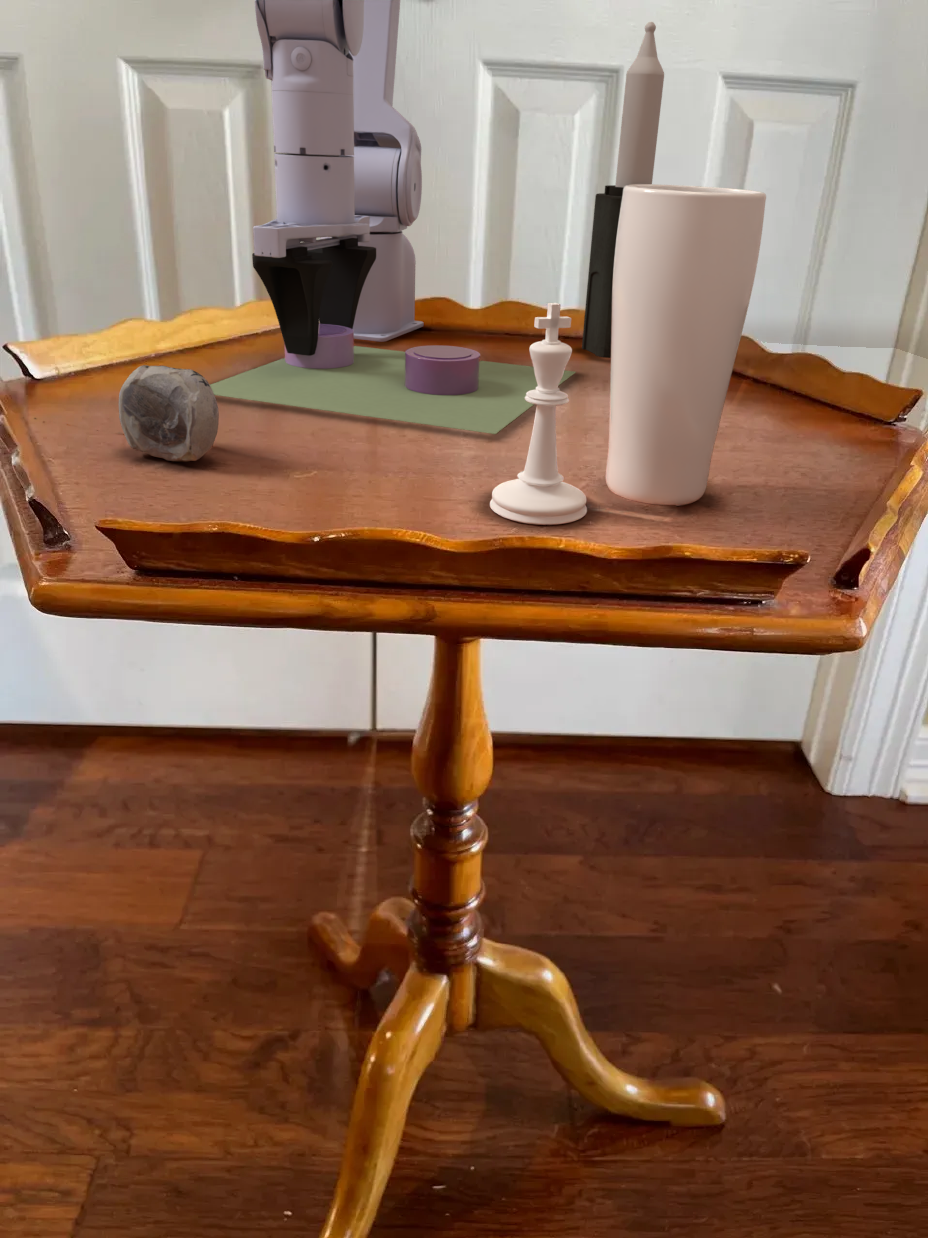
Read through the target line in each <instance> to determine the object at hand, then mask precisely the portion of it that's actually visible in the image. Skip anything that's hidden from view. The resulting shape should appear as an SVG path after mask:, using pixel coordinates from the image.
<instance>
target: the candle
mask: <svg viewBox="0 0 928 1238" xmlns="http://www.w3.org/2000/svg"><path fill="white" fill-rule="evenodd" d="M656 28H657V25H656V24H655V22H654V21H648V22H647V23H646V24H644V31H645V32H644V36H643V38H642V41H641V44H640V46H639V49H638V53H637V55H636V58H635V59H634V60H633V62H632V63H631V65H630V66H629V68H628V70H627V71H626V75H625V85H624V95H623V103H622V104H623V105H622V114H621V126H620V136H619V145H618V153H617V154H618V155H617V156H618V157H617V165H616V174H615V175H616V177H615V185H613V184H612V185H611V184H609V185H604V191H603V193H596V194H595V199H594V210H593V221H592V232H591V240H590V241H591V242H590V253H589V265H588V277H587V286H586V297H585V308H584V317H583V319H584V320H583V330H582V341H581V342H582V343H581V349H582V350H585V351H588V352H590V353H592V354H594V355H595V356H596V357H599V358H604V359H605V358H606V359H611V326H612V287H613V269H614V257H615V246H616V237H617V229H618V222H619V215H620V208H621V202H622V196H623V189H624V187H625V186H626V185H632V184H653V179H654V170H655V162H656V161H655V160H656V153H657V142H658V135H659V134H658V133H659V124H660V118H661V117H660V116H661V107H662V99H663V89H664V81H665V71H664V68H663V67H662V64H661V62H660V61H659V58H658V57H659V56H658V51H657V45H656V37H655V31H656Z"/></svg>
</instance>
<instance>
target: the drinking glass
mask: <svg viewBox="0 0 928 1238" xmlns="http://www.w3.org/2000/svg"><path fill="white" fill-rule="evenodd" d="M766 201H767V194H766V193H765V192H763V191H759V190H750V189H743V188H741V189H740V188H731V187H729V188H728V187H715V186H702V185H701V186H700V185H684V184H683V185H681V184H654V183H652V184H632V185H626V186H625V187H624V189H623V196H622V202H621V208H620V215H619V222H618V229H617V237H616V246H615V257H614V269H613V287H612V326H611V358H610V374H609V375H610V377H609V379H610V381H609V382H610V385H609V413H608V419H609V420H608V444H607V445H608V446H607V455H606V456H607V457H606V467H605V477H604V478H605V483H606V486H607V488H608V489H609V491H611V493H612V494H614V495H616V496H618V497H621V498H623V499H625V500H630V501H633V502H637V503H641V504H642V503H643V504H648V505H656V506H658V505H659V506H676V507H680V506H686V505H689V504H692V503H695V502H697V501H699V500H700V499H701V498H702V497H703V496H704V494H705V492H706V491H707V487H708V482H709V477H710V469H711V464H712V463H711V462H712V457H713V452H714V448H715V444H716V441H717V437H718V436H717V435H718V432H719V427H720V423H721V419H722V415H723V410H724V406H725V403H726V399H727V395H728V392H729V391H728V390H729V386H730V383H731V379H732V376H733V369H734V366H735V362H736V358H737V354H738V350H739V346H740V342H741V340H742V339H741V338H742V334H743V331H744V326H745V323H746V318H747V315H748V314H747V313H748V311H749V310H748V309H749V305H750V302H751V297H752V292H753V289H754V284H755V278H756V274H757V268H758V262H759V256H760V249H761V244H762V243H761V242H762V235H763V227H764V219H765V211H766V203H767V202H766Z"/></svg>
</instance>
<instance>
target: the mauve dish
mask: <svg viewBox="0 0 928 1238" xmlns="http://www.w3.org/2000/svg"><path fill="white" fill-rule="evenodd" d="M404 352H405V387H406V388H408V389H409V390H412V391H415V392H419V393H424V394H432V395H461V394H468V393H472V392H475V391H477V390H478V388H479V372H480V361H481V353H480V352H479V351H477V350H475V349H471V348H469V347H461V346H455V345H454V346H453V345H441V344H440V345H437V344H436V345H434V344H433V345H420V346H414V347H410V348H407V349H406V350H405V351H404Z"/></svg>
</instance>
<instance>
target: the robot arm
mask: <svg viewBox="0 0 928 1238" xmlns="http://www.w3.org/2000/svg"><path fill="white" fill-rule="evenodd" d="M400 11H401V0H254V12H255V20H256V26H257V30H258V36H259V39H260V43H261V48H262V59H263V61H262V62H263V70H264V75H265V79H266V80H269V81H270V84H271V86H270V87H271V111H272V133H273V135H272V136H273V158H274V183H275V184H274V185H275V208H276V210H275V211H276V218H274V219H272V220H270V221H268V222H266V223H263V224H259V225H253V227H252V232H253V253H252V255H251V257H252V258H251V259H252V268H253V269H254V270H255V273H256V274H257V275H258V277H259V279H260V280H261V282H262V283H263V285H264V287H265V290H266V291H267V293H268V296H269V298H270V301H271V303H272V306H273V309H274V312H275V314H276V318H277V322H278V325H279V329H280V332H281V336H282V340H283V344H284V343H285V347H286V350H287V353H291V354H299V355H307V356H311V355H314V354H315V351H316V347H317V342H318V331H319V324H330V325H339V326H345V327H348V328H351V329H353V330H354V340H362V341H370V342H371V341H372V342H379V343H381V342H383V343H384V342H385V343H386V342H388V341H390V340H393V339H395V338H397V337H401V336H403V335H405V334H407V333H410V332H413V331H415V330H418V329H420V328H423V327H424V326H425V325H424V322H423V321H421V320H416V319H415V314H416V264H417V263H416V262H417V261H416V254H415V251H414V248H413V245H412V243H411V242H410V240H409V238H408V237H407V236H406V234H404V233H403V231H404V230H406V229H408V227H411V226H412V225H413V224H414V222H415V221H416V220H417V219H418V217H419V215H420V209H421V204H422V194H423V192H422V190H423V175H422V174H423V173H422V144H421V139H420V137H419V135H418V132H417V129H416V128H415V126H414V125H413V124H412V123H411V122H410V121H409V120H408V119H407V118H406V117H404V116H403V114H401V113H400V112H399V111H398V110H397V109H395V107H394V106H393V104H394V92H395V90H394V89H395V77H396V64H397V50H398V37H399V36H398V35H399V23H400V13H401V12H400ZM317 238H318V239H317Z"/></svg>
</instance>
